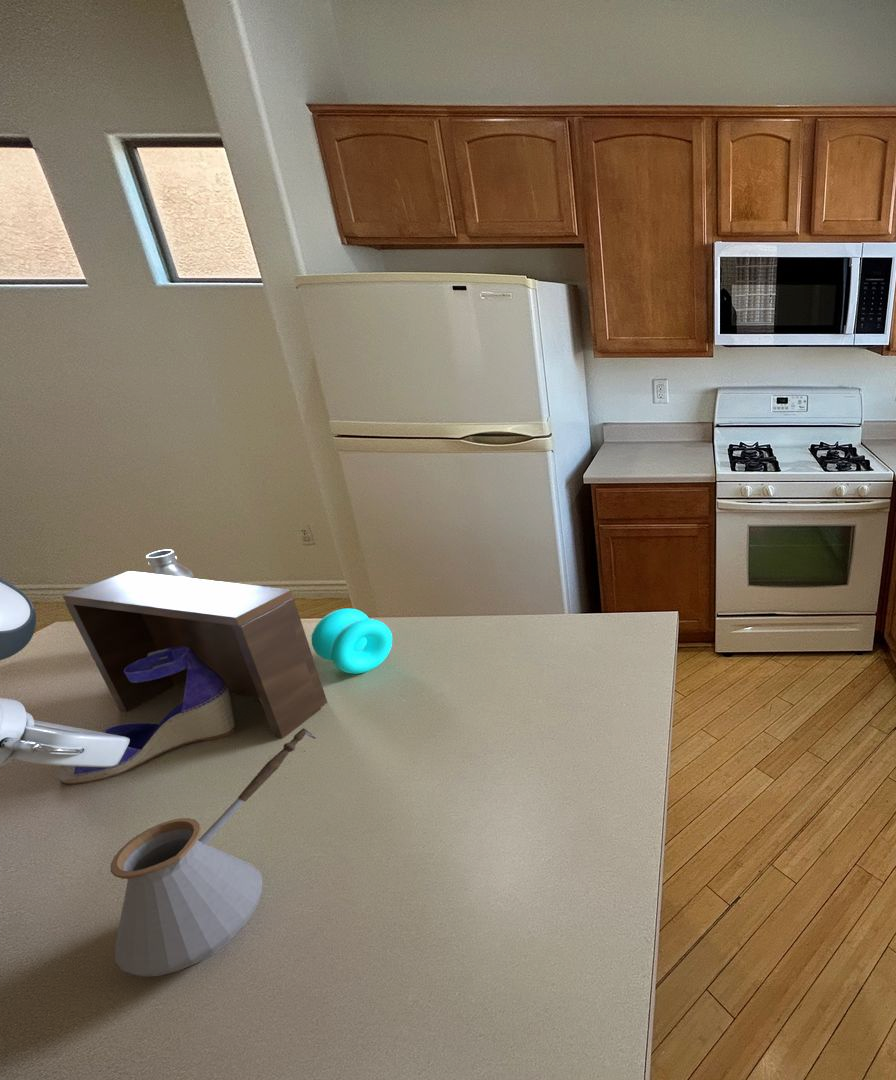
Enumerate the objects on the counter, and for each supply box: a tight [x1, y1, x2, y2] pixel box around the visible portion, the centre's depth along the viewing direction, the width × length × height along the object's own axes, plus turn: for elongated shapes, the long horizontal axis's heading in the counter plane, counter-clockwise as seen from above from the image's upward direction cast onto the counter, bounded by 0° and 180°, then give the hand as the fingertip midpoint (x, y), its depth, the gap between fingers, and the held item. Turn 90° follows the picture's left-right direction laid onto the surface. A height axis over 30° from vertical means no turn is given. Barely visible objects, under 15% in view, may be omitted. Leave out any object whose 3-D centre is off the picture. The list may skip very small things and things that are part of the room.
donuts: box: [311, 607, 393, 675], centre depth 101 cm, size 10×10×10 cm
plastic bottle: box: [145, 549, 196, 579], centre depth 103 cm, size 6×7×20 cm
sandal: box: [55, 646, 237, 785], centre depth 79 cm, size 8×20×15 cm, turn 113°
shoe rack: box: [62, 570, 328, 739], centre depth 87 cm, size 32×9×21 cm, turn 79°
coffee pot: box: [110, 727, 319, 977], centre depth 60 cm, size 21×12×15 cm, turn 159°
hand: (109, 743), depth 76 cm, fingers closed
